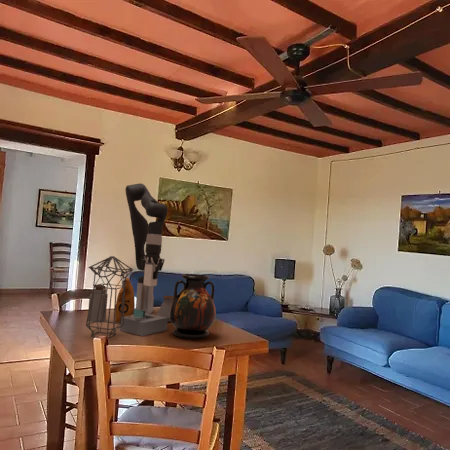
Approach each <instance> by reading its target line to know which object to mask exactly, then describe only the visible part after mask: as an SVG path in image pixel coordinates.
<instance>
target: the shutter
mask: <svg viewBox="0 0 450 450" xmlns="http://www.w3.org/2000/svg"><path fill="white" fill-rule="evenodd" d="M124 318H125V319H129V320H133V321H138V320H143V319H145V318H146V317H145V311H143V310H138V309H136V308H135V309H134V315H129V316H125V317H124Z"/></svg>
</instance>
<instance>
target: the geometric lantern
mask: <svg viewBox="0 0 450 450" xmlns="http://www.w3.org/2000/svg"><path fill="white" fill-rule="evenodd" d="M112 260H113V263H114V267H113V266H112V267H111V266H110V264H111V261H112ZM123 265H124V266H125V267H126V268H125V267H124V266H123ZM95 266H96V267H95ZM87 268H88V269H90V270H91V272H92V273H94V275H93V283H92V284H93V285H92V286H93V287H92V290H93V292H92V291H91V294H92V297H91V302H90V306H89V305H88V309H89V311H88V310H87V311H88V312H87V316H86V321H85V322H86V323H85V326H86V328H88V330H89V331H91V335H90V337H92V338H96V337H95V336H96V334H105V335H106V337H108V338H107V339H110V338H112V337H114V336H115V335H117V331H118V330H120V328H121V327H122V326H124V302H125V283H126V278H128V277H129V275H130V274H131V273H132V272H133V271H134V269H133V268H132V267H130V266H129V265H127V264H126V263H125V262H123V261H122V260H121V259H119V258H117V257H115V256H113V255H111V256H109V257H107V258H105V259H103V260H101V261H98V262H96V263H94V264H91V265H90V266H88V267H87ZM104 268H105V270H104ZM112 269H113V270H112ZM102 272H104V275H101V273H102ZM110 272H111V273H110ZM106 273H109V274H107V275H106ZM118 273H120V274H118ZM96 275H97V276H98V279H97V281H96ZM125 275H126V276H125ZM110 276H111V277H110ZM115 276H117V277H120V280H119V281H118V283H117V284H111V283H110V282H111V281H112V280H113V278H114V277H115ZM108 277H110V279H109V278H108ZM103 278H105V279H106V281H107V283H105V282H104V280H103ZM100 279H101V281H102V283H98V282H99V280H100ZM124 280H125V283H124V282H123V281H124ZM120 282H121V283H122V285H121V284H120ZM119 284H120V285H119ZM96 285H103V287H101V288H102V292H101V298H100V304H99V309H98V315H97V320H96V321H94V322H90V318H91V311H92V304H93V298H94V291H95V287H100V286H96ZM112 286H115V287H112ZM121 288H123V296H122V307H121V318H120V323H116V321H115V309H116V301H117V291H118V290H119V289H120V290H121ZM103 289H106V292H105V293H106V295H105V303H104V310H103V318H102V321H98V316H99V310H100V305H101V299H102V294H103ZM108 289H109V290H110V296H109V297H110V298H109V305H108V307H109V308H108V316H107V317H108V318H107V320H104V321H103V319H104V312H105V304H106V297H107V294H108ZM113 290H114V291H115V293H114V307H113V309H114V311H113V321H110V317H111V307H112V296H113ZM90 308H91V309H90ZM122 309H123V323H121V320H122ZM89 313H90V316H89ZM88 318H89V321H88ZM94 323H96V325H97V326H94V325H92V324H94ZM98 323H100V326H99V324H98ZM103 323H107V326H106V327H102V325H103ZM110 324H113V325H112V327H111V328H109V327H110V326H109V325H110ZM115 324H116V325H115ZM120 324H121V326H120ZM92 328H95V329H92ZM96 330H97V331H96ZM101 330H103V331H101ZM104 330H105V332H104ZM106 331H107V332H106ZM109 331H110V332H109Z"/></svg>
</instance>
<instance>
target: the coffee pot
mask: <svg viewBox="0 0 450 450" xmlns="http://www.w3.org/2000/svg"><path fill="white" fill-rule="evenodd" d="M162 297H163V301H162V303H161V305H160V307H159V309H158V311H157V314H156V315H157V316H162V317H167V318H168V321H167V323H172V322H171V319H170V308H171V304H172V303H173V299H174V295H163V296H162Z"/></svg>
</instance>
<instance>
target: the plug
mask: <svg viewBox="0 0 450 450" xmlns="http://www.w3.org/2000/svg"><path fill="white" fill-rule="evenodd" d="M155 265H157V264H155ZM153 272H154V271H153V263H148V262H145V271H144V273H143V276H144V283H143V285H146V286H153V287H157V285H158V278H157V279H153Z"/></svg>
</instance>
